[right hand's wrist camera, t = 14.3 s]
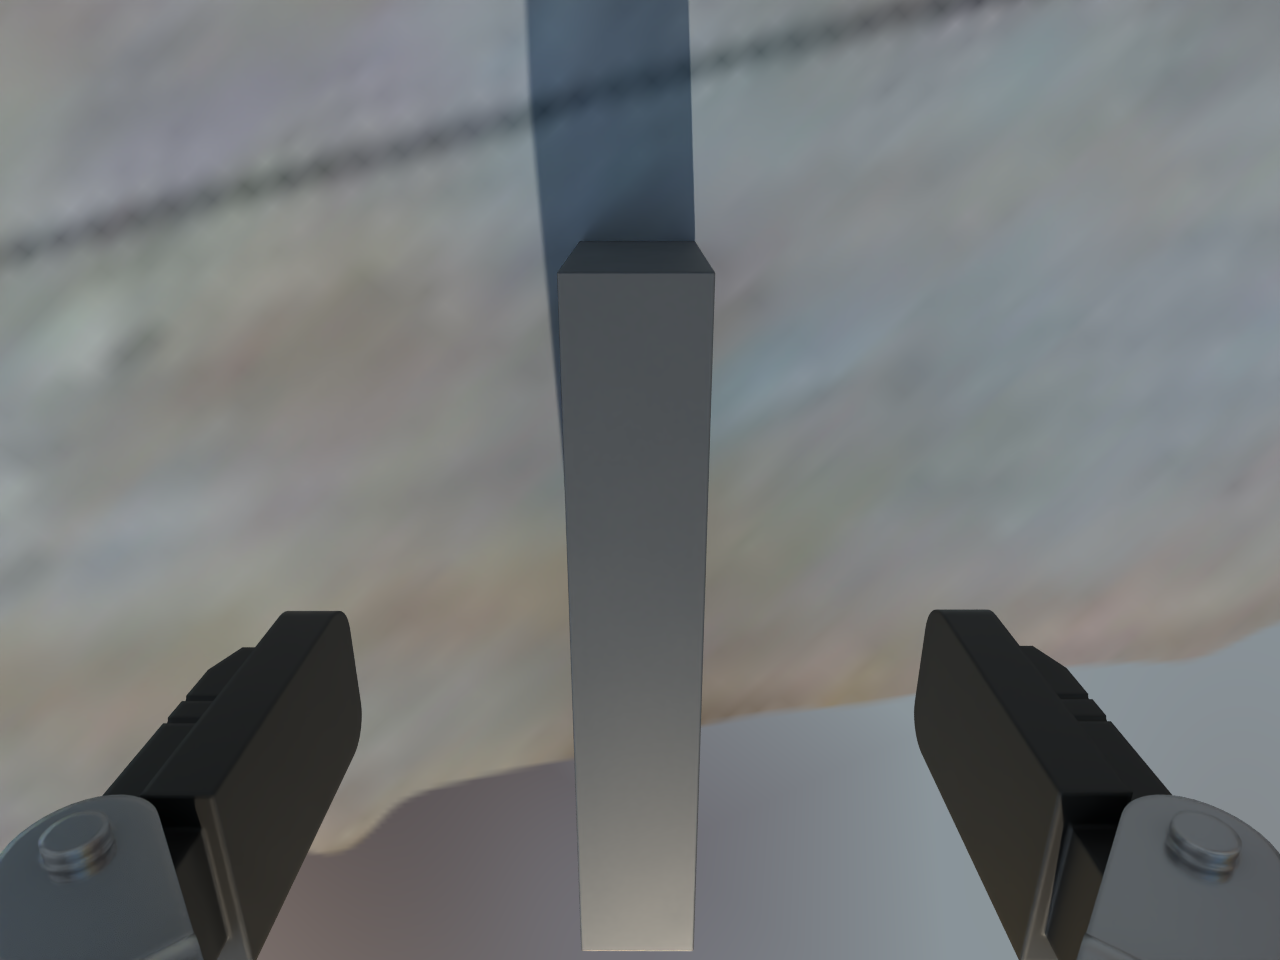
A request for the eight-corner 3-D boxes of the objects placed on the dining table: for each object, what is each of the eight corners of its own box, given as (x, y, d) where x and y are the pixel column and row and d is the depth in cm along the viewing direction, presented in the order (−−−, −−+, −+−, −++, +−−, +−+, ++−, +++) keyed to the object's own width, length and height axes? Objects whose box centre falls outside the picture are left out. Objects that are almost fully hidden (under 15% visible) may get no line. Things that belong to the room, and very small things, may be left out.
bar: (579, 241, 33) (556, 272, 25) (695, 241, 33) (715, 271, 25) (593, 789, 43) (581, 951, 35) (682, 789, 43) (693, 951, 35)
